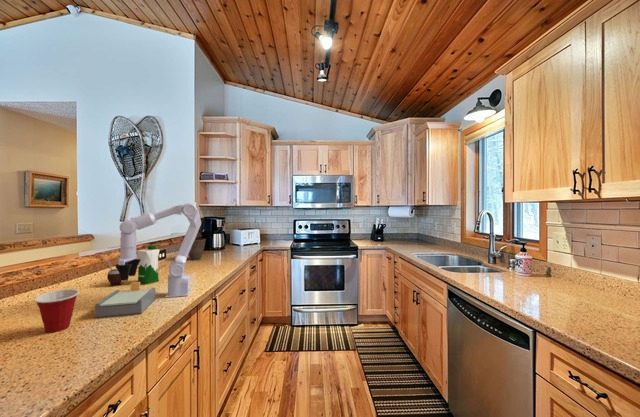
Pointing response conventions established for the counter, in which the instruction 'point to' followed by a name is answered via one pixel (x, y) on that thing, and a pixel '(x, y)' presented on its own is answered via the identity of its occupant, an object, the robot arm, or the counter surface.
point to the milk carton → (148, 265)
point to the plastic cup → (57, 308)
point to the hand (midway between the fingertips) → (128, 278)
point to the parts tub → (124, 306)
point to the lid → (127, 296)
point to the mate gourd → (113, 276)
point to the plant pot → (197, 249)
